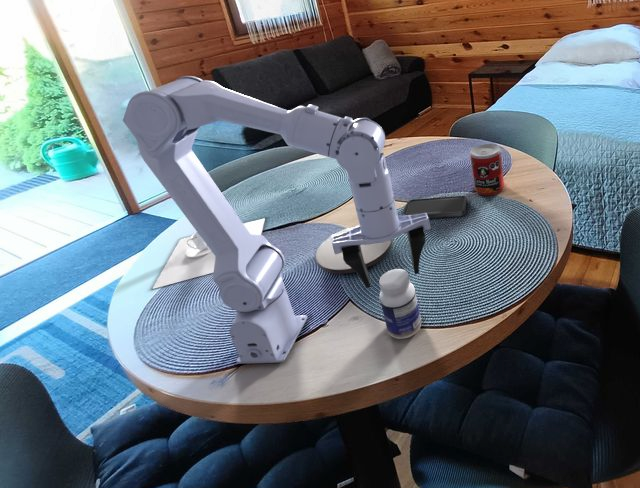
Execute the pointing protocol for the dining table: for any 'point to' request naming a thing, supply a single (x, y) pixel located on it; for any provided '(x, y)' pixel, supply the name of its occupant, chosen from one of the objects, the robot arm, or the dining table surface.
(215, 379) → the dining table surface
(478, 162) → the canned food
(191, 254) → the teacup and saucer
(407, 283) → the pill bottle
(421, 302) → the dining table surface
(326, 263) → the tray
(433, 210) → the phone
